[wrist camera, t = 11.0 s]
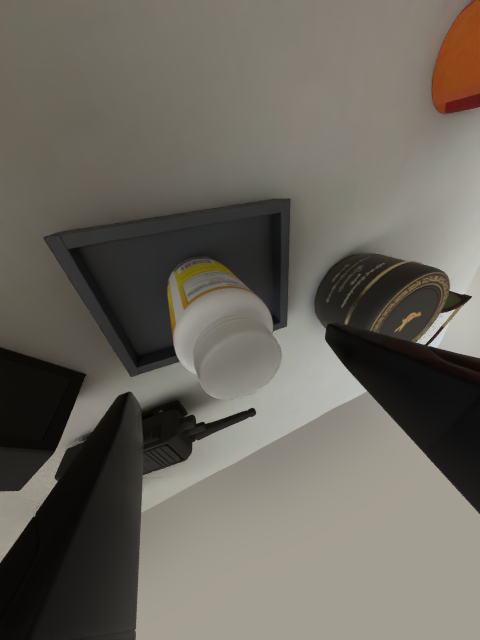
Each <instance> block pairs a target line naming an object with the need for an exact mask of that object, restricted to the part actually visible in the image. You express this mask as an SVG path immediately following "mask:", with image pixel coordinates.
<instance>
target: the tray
mask: <svg viewBox="0 0 480 640" xmlns="http://www.w3.org/2000/svg"><path fill="white" fill-rule="evenodd" d="M289 233H290V199H272V200H265V201H259V202H252V203H246V204H239V205H233V206H226V207H220V208H213V209H207V210H200V211H194V212H187V213H181V214H174V215H168V216H161V217H155V218H148V219H142V220H135V221H128V222H122V223H115V224H109V225H102V226H96V227H89V228H83V229H76V230H70V231H63V232H58V233H55V234H52V235H49V236H46V237H44V240H45V241H46V243H47V245H48V246H49V248H50V249H51V251H52V253H53V254H54V256H55V257H56V259H57V260H58V262H59V264H60V265H61V267H62V268H63V270H64V272H65V273H66V275H67V276H68V278H69V279H70V281H71V283H72V284H73V286H74V287H75V289H76V291H77V292H78V294H79V295H80V297H81V298H82V300H83V302H84V303H85V305H86V306H87V308H88V310H89V311H90V313H91V314H92V316H93V317H94V319H95V321H96V322H97V324H98V325H99V327H100V329H101V330H102V332H103V333H104V335H105V336H106V338H107V340H108V341H109V343H110V344H111V346H112V348H113V349H114V351H115V352H116V354H117V355H118V357H119V359H120V360H121V362H122V363H123V365H124V367H125V368H126V370H127V371H128V373H129V374H130V376H131V377H133V376H136V375H139V374H142V373H145V372H148V371H151V370H154V369H158V368H161V367H164V366H167V365H170V364H173V363H176V362H179V359H178V357H177V355H176V352H175V348H174V343H173V335H172V327H171V319H170V310H169V302H168V295H167V285H168V280H169V277H170V275H171V273H172V272H173V270H174V269H175V268H176V267H177V266H178V265H179V264H181V263H182V262H184V261H185V260H188V259H190V258H194V257H208V258H212V259H215V260H217V261H219V262H220V263H222V264H223V265H224V266H225V267H226V268H227V269H229V270H230V271H231V272H232V273H233V274H234V275H235V276H236V277H237V278H238V279H239V280H240V281H241V282H242V283H243V284H245V285H246V286H247V287H248V288H249V289H250V290H251V291H252V292H253V293H254V294H255V295H257V296H258V297H259V298H260V299H261V300H262V301H263V303H264V304H265V305H266V306H267V308H268V310H269V312H270V314H271V317H272V321H273V331H275V330H278V329H280V328H284V327H287V305H288V269H289Z"/></svg>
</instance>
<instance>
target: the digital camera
mask: <svg viewBox="0 0 480 640" xmlns="http://www.w3.org/2000/svg"><path fill="white" fill-rule="evenodd" d="M85 376H86V375H85V374H82V373H79V372H75V371H72V370H69V369H66V368H63V367H59V366H56V365H53V364H50V363H47V362H43V361H40V360H37V359H34V358H31V357H27V356H24V355H21V354H18V353H15V352H11V351H8V350H5V349H2V348H0V491H19V490H21V489H22V487H23V486H24V485H25V484H26V483H27V482H28V481H29V480H30V479H31V478H32V476H33V475H34V474H35V473H36V472H37V471H38V470H39V469H40V468H41V467H42V466H43V464H44V463H45V462H46V461H47V460H48V459H49V458H50V457H51V456H52V455H53V453H54V452H55V450H56V448H57V446H58V444H59V441H60V439H61V437H62V434H63V432H64V429H65V427H66V424H67V421H68V419H69V416H70V414H71V411H72V409H73V406H74V404H75V401H76V399H77V396H78V394H79V391H80V389H81V386H82V383H83V381H84V378H85Z"/></svg>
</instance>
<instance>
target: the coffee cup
mask: <svg viewBox="0 0 480 640" xmlns="http://www.w3.org/2000/svg"><path fill="white" fill-rule="evenodd" d="M432 96H433V102H434V105H435V107H436V109H437V110H438V111H439V112H441V113H453V112H459V111H463V110H468V109H473V108H478V107H480V0H474V1H473V2H471V3H470V4H469V5H468V6H467V7H466V8H465V9H464V10H463V11H462V12H461V13H460V15H459V16H458V17H457V19H456V20H455V22H454V23H453V25H452V27H451V28H450V30H449V32H448V34H447V36H446V38H445V40H444V43H443V45H442V48H441V50H440V53H439V56H438V59H437V63H436V66H435V71H434V76H433V84H432Z"/></svg>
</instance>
